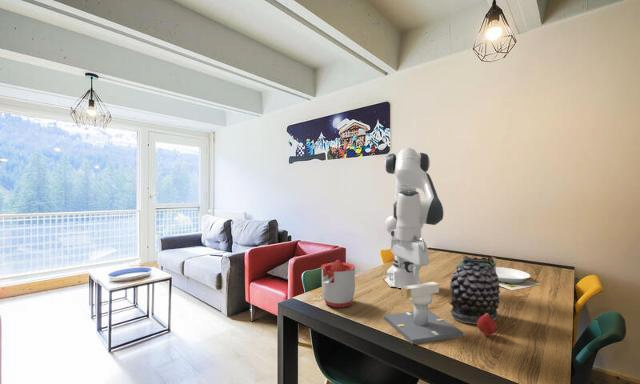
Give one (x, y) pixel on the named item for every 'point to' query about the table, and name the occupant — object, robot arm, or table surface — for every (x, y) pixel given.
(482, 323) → the onion
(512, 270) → the white plate
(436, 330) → the lock base
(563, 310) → the table surface
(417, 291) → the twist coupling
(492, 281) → the pineapple fairy house
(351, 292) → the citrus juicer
